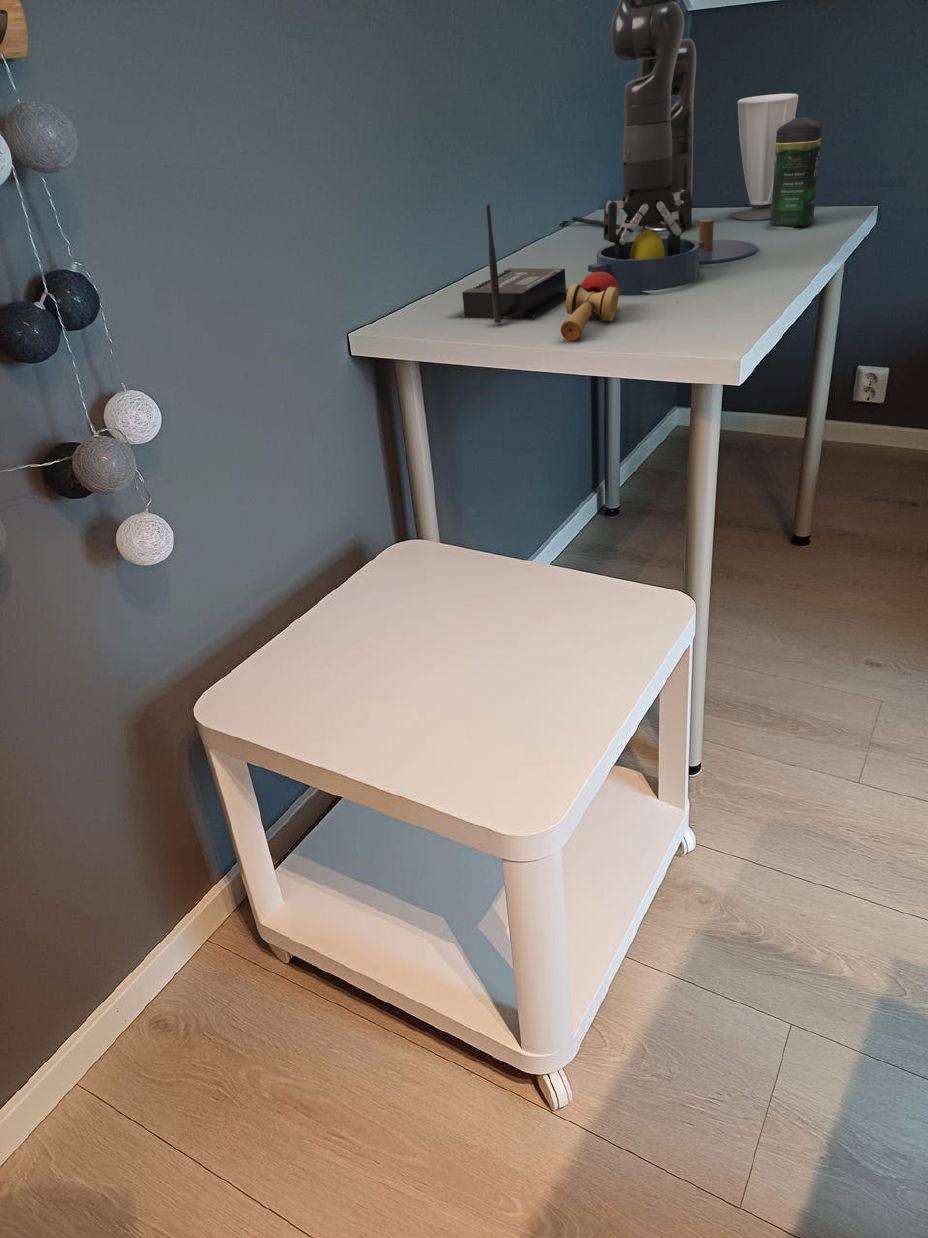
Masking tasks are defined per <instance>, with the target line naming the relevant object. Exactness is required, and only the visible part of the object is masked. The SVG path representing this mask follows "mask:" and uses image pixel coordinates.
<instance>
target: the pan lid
mask: <svg viewBox="0 0 928 1238" xmlns="http://www.w3.org/2000/svg"><path fill="white" fill-rule="evenodd" d="M714 221H715V220H714V219H712V218H704V219H700V220H699V223H698V225H699V228H698V230H699V231H698V241H702V242H705V248H703V249H699V265H709V264H719V263H727V262H733V261H737V260H742V259H745V258H748V257H750V256H753V255H755V254H756V252H757V249H758V248H757V247H758V246H757V245H756V244H754V243H753V242H748V241H743V240H734V239H714V226H715V225H714Z"/></svg>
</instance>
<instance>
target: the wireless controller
mask: <svg viewBox="0 0 928 1238" xmlns="http://www.w3.org/2000/svg"><path fill="white" fill-rule="evenodd" d="M485 210H486V220H487V232H488V266H489V276H490V279H487V280H485V281H484V282H481V283H480V284H478V285H476V286H475V287H474V286H473V287H472V288H470V287H469V288H467V289H466V290H464V291H462V293H461V295H462V303H463V311H462V312H460V313H459V314H457V315H456V317H457V318H482V319H493V321H494V324H500V323H502V322H503V321H502V320H503V319H510V320H511V319H512V320H513V319H515V320H535V319H538V318H539V317H540V316H542V315H544V314H545V313H546V312H548V311H550V310H552V309H553V308H555V307H556V306H558V305H559V304H561V303H563V302H564V301H566V298H567V293H568V291H567V287H566V286H567V285H566V284H567V283H566V282H567V281H566V268H522V267H521V268H519V267H518V268H513V267H512V268H511V267H510V268H506V269H505V270H503V272H501V273H498V263H497V255H496V254H497V253H496V248H495V242H494V236H493V235H494V234H493V226H492V212H491V205H490V204H489V203H487V204H486V205H485Z"/></svg>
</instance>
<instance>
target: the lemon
mask: <svg viewBox="0 0 928 1238" xmlns="http://www.w3.org/2000/svg"><path fill="white" fill-rule="evenodd" d="M661 238H662V237H660V235H659V234H658V233H657V232H656V233H654V232H651V231H650V230H649V229H646V230H644V231H643V232H641V233H639V234H638V235H637V236H636V237H635V238H634V239H633V240H632V241H633V244H632V247H631V253H630V259H650V258H659V257H665V251H664V245H663V242H662V239H661Z"/></svg>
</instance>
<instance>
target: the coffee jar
mask: <svg viewBox="0 0 928 1238" xmlns="http://www.w3.org/2000/svg"><path fill="white" fill-rule="evenodd" d="M822 126H823V125H822V123H821V121H819V120H817V119H815V117H811V116H810V117H809V116H808V117H807V116H806V117H805V116H803V117H795V119H792V120H791V121H790V122H788V123H786V124H784V125H782V126H781V127H779V128H778V130H777V136H776V150H775V166H774V180H773V195H772V206H770V207H771V219H769V220H770V221H769V222H770V223H769V224H770V226H772V227H784V228H791V229H795V228H797V227H806V226H809V225H810V224H811V223H812V222H813V220H814V218H815V217H814V216H815V206H816V197H817V196H816V194H817V185H818V174H819V166H820V165H819V164H820V154H821V153H820V152H821V144H822V143H821V142H822Z"/></svg>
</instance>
